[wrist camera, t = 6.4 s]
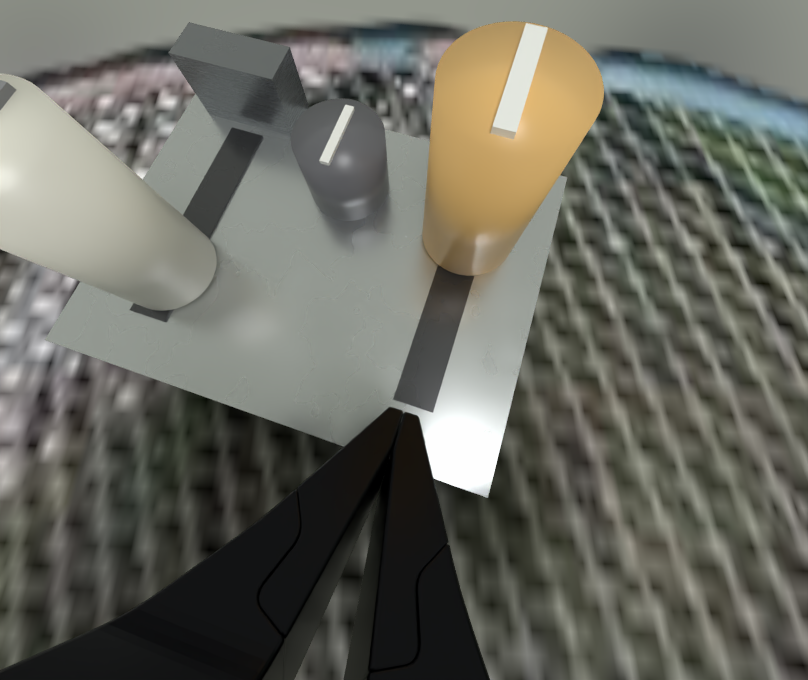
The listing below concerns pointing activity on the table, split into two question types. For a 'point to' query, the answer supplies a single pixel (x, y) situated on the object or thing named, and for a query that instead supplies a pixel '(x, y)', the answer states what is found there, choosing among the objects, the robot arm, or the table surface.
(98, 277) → the cream knob
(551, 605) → the table surface
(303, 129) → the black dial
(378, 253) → the console plate
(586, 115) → the orange knob
